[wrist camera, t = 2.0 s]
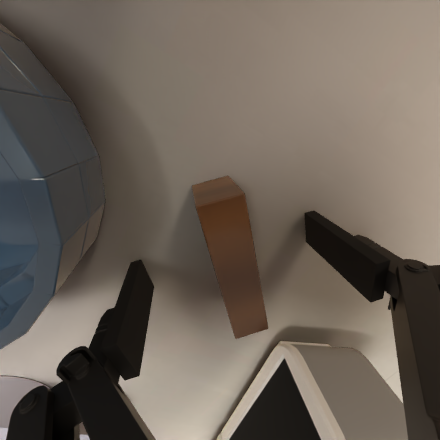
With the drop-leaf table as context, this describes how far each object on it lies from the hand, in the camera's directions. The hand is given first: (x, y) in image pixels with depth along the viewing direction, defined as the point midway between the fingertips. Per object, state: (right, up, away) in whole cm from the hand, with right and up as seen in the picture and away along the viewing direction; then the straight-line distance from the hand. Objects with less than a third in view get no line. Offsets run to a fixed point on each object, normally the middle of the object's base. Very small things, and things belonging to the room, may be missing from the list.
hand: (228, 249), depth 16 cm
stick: (0, 0, 0) cm, 0 cm away
